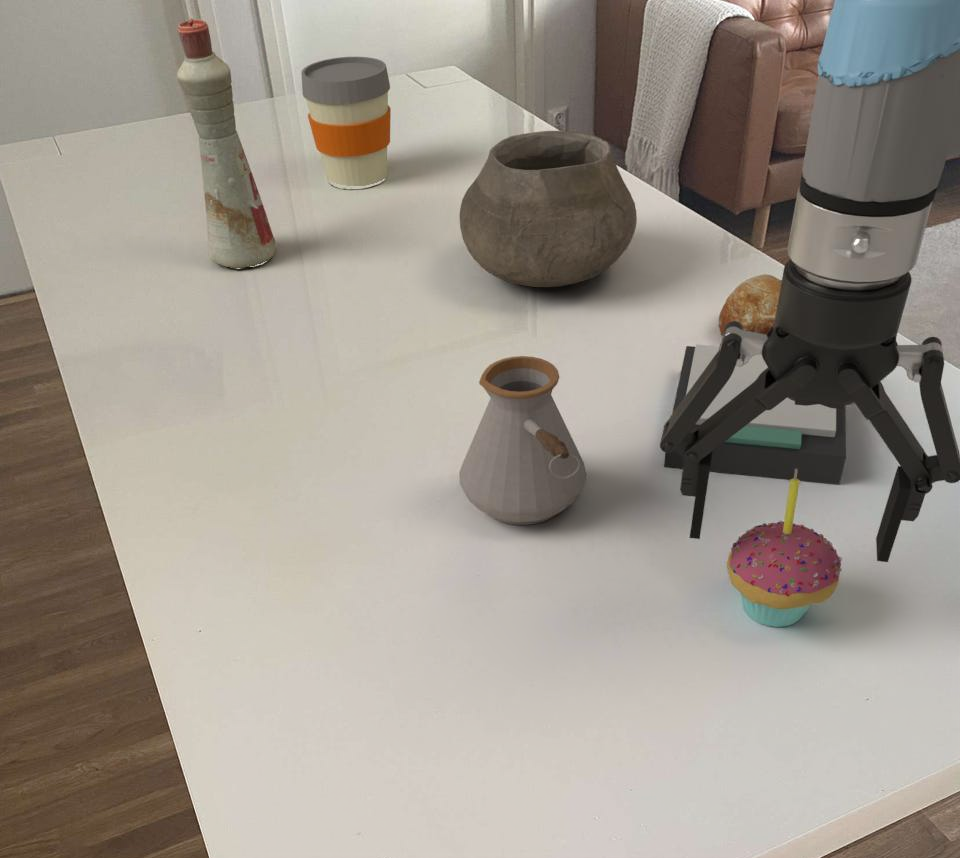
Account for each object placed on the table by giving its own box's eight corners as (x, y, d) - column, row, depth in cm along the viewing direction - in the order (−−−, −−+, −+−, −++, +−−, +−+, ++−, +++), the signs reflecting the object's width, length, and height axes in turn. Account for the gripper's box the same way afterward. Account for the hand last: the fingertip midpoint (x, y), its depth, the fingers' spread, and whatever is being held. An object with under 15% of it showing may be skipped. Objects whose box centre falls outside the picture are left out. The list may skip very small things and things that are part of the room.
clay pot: (437, 259, 131) (428, 137, 120) (584, 226, 136) (587, 106, 126) (506, 330, 116) (502, 198, 106) (667, 290, 122) (678, 160, 111)
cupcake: (714, 573, 84) (733, 452, 76) (818, 572, 84) (848, 450, 75) (728, 645, 78) (750, 523, 70) (840, 645, 78) (875, 521, 69)
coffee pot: (451, 473, 96) (440, 327, 86) (568, 456, 98) (571, 310, 87) (494, 622, 81) (486, 468, 71) (631, 600, 82) (644, 445, 72)
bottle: (198, 257, 135) (139, 18, 115) (259, 238, 138) (211, 2, 119) (228, 278, 130) (171, 32, 110) (289, 258, 133) (245, 15, 114)
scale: (839, 384, 105) (846, 350, 102) (839, 484, 92) (848, 449, 90) (683, 371, 108) (687, 338, 105) (663, 466, 96) (667, 432, 93)
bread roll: (739, 337, 120) (718, 274, 116) (827, 312, 114) (807, 246, 110) (722, 378, 113) (699, 313, 109) (814, 354, 108) (793, 285, 104)
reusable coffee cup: (415, 176, 152) (406, 66, 142) (350, 201, 146) (335, 88, 136) (364, 157, 159) (351, 51, 148) (299, 180, 153) (281, 71, 143)
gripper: (635, 276, 61) (615, 548, 76) (1082, 308, 56) (967, 593, 71) (651, 226, 66) (629, 490, 81) (1062, 252, 61) (958, 528, 76)
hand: (787, 539), depth 76 cm, fingers open, 13 cm apart
